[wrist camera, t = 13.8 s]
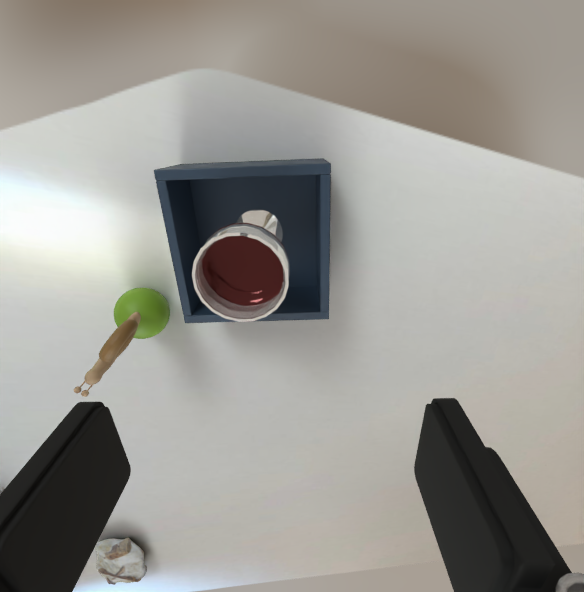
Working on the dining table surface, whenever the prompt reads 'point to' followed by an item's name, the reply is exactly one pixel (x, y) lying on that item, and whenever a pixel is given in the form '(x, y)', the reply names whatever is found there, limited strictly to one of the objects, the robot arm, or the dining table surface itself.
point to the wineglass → (243, 268)
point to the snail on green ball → (130, 328)
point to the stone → (120, 560)
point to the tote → (242, 198)
